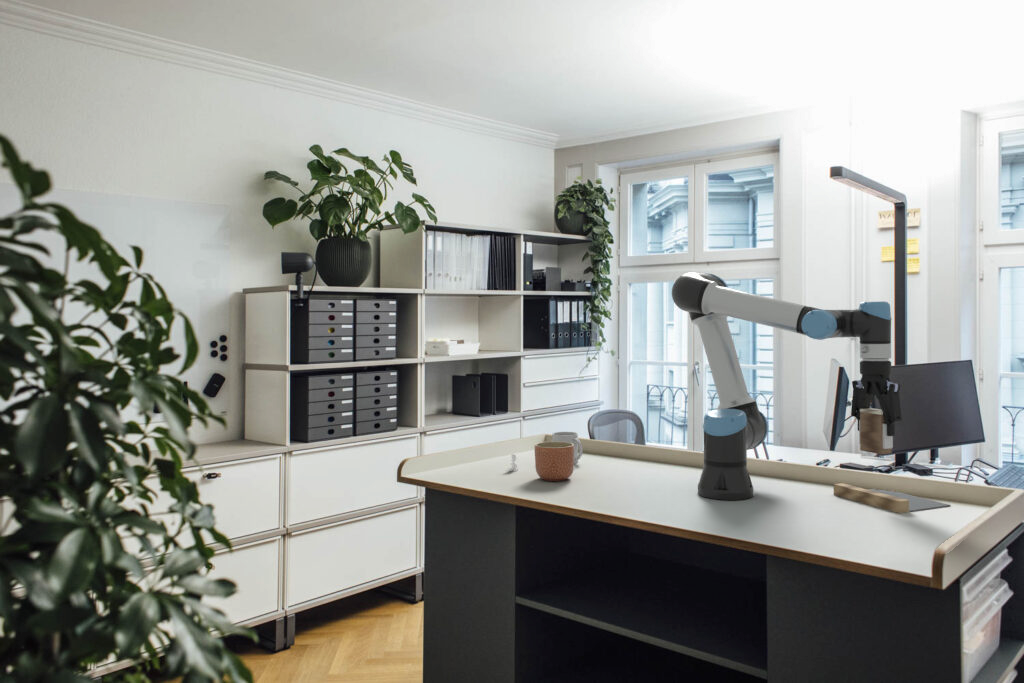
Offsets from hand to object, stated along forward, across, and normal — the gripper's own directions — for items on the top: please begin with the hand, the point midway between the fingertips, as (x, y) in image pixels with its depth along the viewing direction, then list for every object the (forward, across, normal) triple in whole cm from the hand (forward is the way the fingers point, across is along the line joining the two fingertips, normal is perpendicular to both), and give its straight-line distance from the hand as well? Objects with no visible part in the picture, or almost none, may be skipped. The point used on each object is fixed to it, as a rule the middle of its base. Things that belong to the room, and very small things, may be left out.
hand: (875, 445), depth 201 cm
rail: (+15, 0, -2) cm, 15 cm away
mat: (+15, 0, +7) cm, 17 cm away
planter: (+15, -63, -65) cm, 92 cm away
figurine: (+15, -81, -72) cm, 110 cm away
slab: (+2, 0, 0) cm, 2 cm away
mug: (+15, -86, -50) cm, 101 cm away
